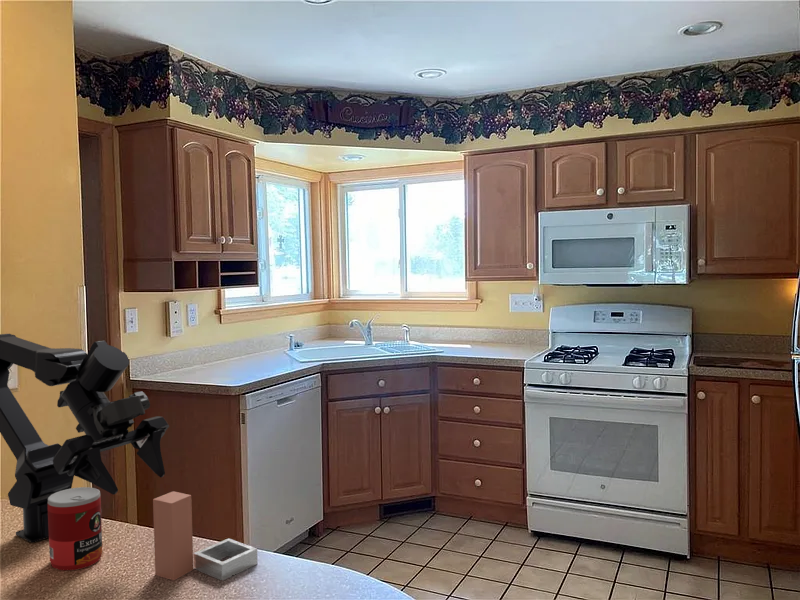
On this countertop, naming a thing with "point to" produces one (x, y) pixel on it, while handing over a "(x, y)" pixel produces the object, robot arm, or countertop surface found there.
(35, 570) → the countertop surface
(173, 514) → the salmon brown rectangular block
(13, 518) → the countertop surface
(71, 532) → the canned food
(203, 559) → the gray square planter
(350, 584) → the countertop surface
